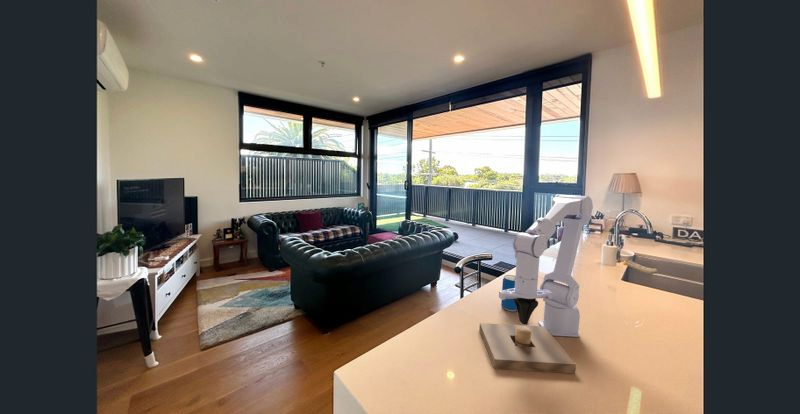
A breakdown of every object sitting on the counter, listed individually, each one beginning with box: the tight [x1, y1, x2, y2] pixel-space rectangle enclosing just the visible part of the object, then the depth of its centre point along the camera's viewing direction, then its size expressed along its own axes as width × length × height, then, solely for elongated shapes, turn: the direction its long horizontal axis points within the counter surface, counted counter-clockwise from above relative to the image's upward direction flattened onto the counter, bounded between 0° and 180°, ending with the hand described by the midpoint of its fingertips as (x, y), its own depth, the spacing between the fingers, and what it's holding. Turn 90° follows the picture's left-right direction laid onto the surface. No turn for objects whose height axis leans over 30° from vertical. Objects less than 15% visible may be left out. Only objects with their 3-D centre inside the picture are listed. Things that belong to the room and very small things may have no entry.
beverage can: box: [501, 274, 518, 312], centre depth 105 cm, size 6×6×12 cm
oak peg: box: [515, 326, 531, 347], centre depth 80 cm, size 4×4×6 cm
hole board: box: [478, 322, 577, 375], centre depth 80 cm, size 20×18×2 cm
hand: (523, 322), depth 79 cm, fingers closed
